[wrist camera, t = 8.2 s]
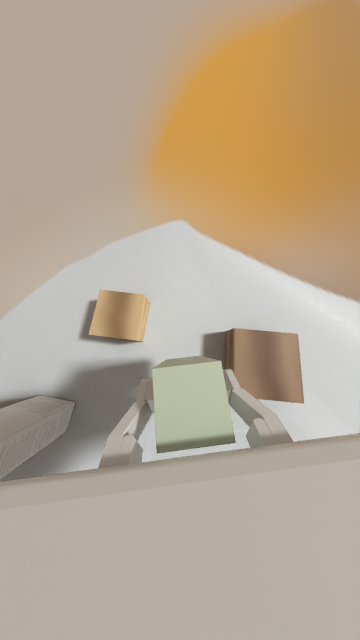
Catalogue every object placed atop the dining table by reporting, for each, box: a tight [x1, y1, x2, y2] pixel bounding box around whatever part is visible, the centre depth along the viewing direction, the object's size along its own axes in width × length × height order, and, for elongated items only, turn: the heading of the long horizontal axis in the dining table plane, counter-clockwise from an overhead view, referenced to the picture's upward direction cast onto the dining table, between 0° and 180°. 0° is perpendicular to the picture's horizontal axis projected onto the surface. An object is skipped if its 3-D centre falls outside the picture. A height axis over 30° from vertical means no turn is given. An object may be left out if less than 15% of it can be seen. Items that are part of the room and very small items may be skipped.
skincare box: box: [0, 395, 75, 479], centre depth 14 cm, size 6×4×12 cm
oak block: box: [88, 290, 150, 341], centre depth 21 cm, size 7×7×4 cm
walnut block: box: [225, 328, 304, 403], centre depth 20 cm, size 9×9×4 cm
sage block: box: [152, 356, 236, 453], centre depth 11 cm, size 4×4×8 cm
